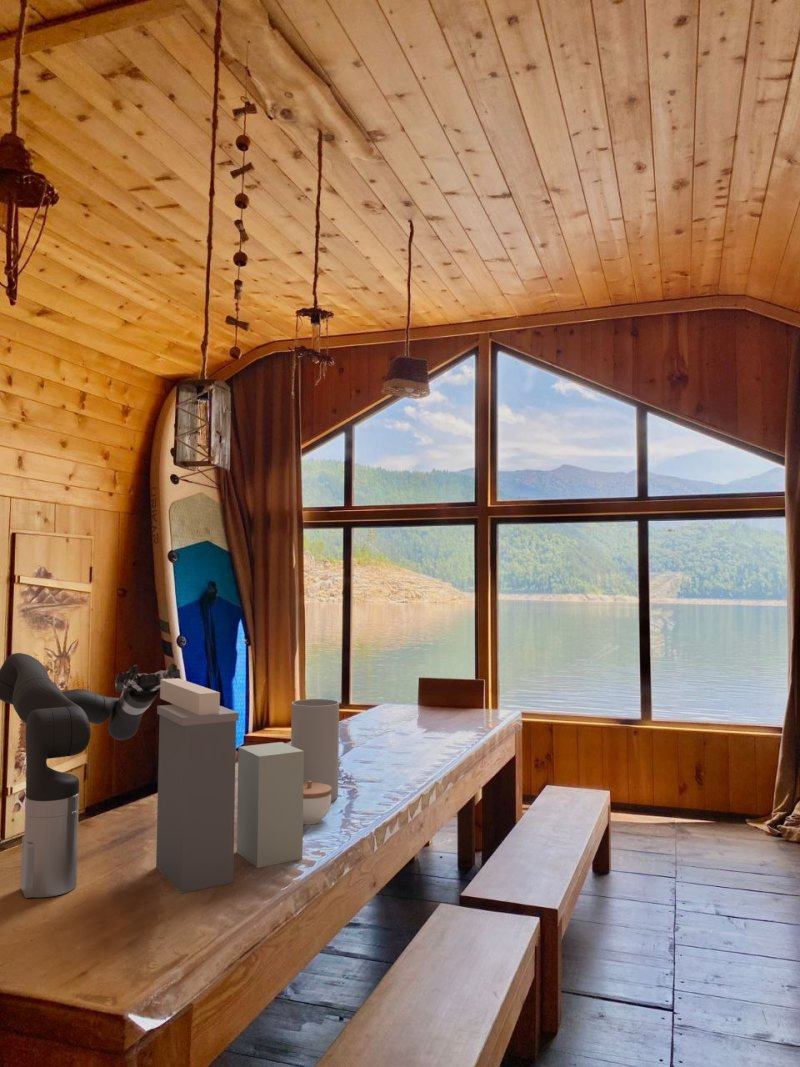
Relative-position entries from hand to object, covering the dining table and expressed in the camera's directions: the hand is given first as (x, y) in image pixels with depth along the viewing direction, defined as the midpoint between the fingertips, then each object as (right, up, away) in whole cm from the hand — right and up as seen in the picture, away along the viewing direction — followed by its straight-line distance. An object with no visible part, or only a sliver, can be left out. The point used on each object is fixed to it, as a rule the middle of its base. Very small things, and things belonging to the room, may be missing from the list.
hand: (155, 667), depth 187 cm
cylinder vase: (+34, -39, +27) cm, 58 cm away
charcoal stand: (+16, -36, -28) cm, 48 cm away
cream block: (+13, -4, -22) cm, 26 cm away
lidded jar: (+34, -38, +8) cm, 52 cm away
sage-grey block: (+29, -36, -17) cm, 49 cm away
